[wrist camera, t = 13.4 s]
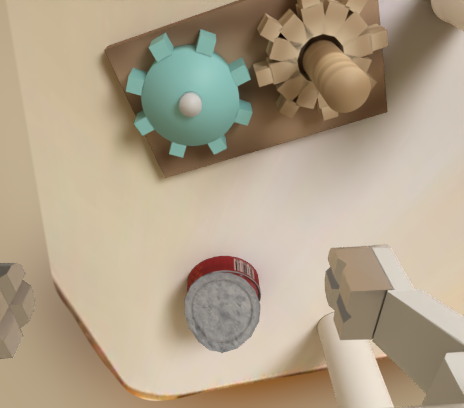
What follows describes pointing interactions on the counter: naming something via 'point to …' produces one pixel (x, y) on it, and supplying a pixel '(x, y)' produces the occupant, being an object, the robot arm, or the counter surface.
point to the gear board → (261, 98)
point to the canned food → (223, 302)
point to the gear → (190, 94)
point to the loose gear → (320, 57)
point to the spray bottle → (352, 369)
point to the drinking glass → (450, 11)
